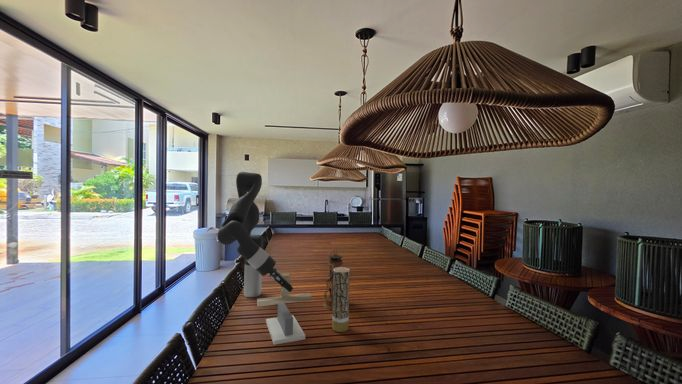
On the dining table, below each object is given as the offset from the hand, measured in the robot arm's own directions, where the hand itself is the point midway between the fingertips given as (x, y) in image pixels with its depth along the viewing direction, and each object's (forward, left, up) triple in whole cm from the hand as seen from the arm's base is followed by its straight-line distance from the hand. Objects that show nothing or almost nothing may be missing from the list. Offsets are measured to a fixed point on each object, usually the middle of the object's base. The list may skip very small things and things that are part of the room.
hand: (290, 288), depth 116 cm
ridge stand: (0, -2, -17) cm, 17 cm away
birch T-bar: (0, -2, -5) cm, 6 cm away
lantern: (-18, +28, -17) cm, 37 cm away
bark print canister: (+7, +20, -17) cm, 27 cm away
